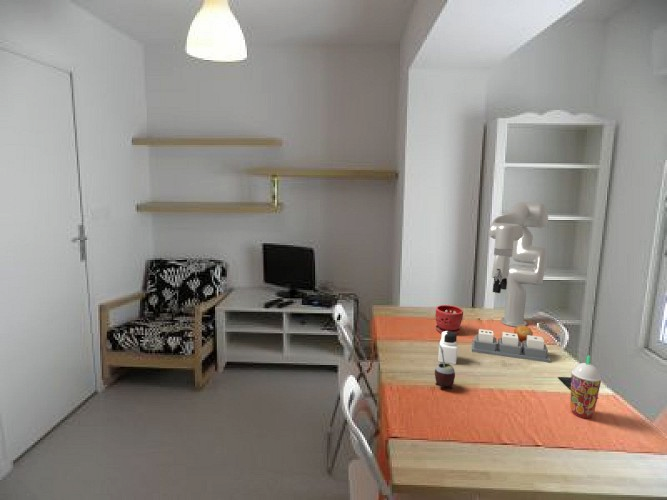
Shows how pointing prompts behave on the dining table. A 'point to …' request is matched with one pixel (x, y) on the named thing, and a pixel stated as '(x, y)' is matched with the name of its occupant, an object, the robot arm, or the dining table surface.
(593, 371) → the smoothie
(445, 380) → the mate gourd
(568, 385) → the smartphone
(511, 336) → the two dot tile
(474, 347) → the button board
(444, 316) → the plant pot
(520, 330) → the fruit
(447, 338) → the medicine bottle
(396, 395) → the dining table surface
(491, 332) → the three dot tile
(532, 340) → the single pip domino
